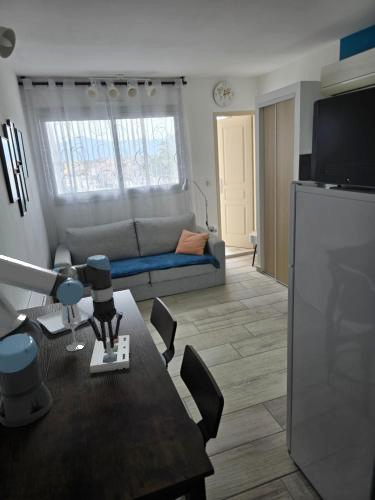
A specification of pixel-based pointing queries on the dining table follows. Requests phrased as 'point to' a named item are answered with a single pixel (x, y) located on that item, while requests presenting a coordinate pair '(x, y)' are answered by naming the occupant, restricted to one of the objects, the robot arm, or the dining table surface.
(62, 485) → the dining table surface
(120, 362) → the button panel
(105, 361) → the slate button
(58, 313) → the salad plate
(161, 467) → the dining table surface
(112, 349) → the sage button
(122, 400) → the dining table surface
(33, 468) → the dining table surface
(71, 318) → the wineglass
